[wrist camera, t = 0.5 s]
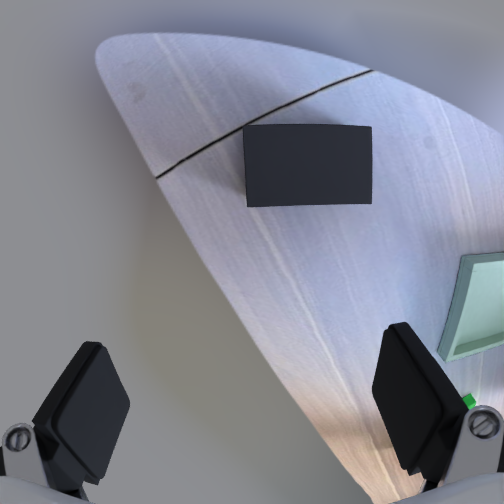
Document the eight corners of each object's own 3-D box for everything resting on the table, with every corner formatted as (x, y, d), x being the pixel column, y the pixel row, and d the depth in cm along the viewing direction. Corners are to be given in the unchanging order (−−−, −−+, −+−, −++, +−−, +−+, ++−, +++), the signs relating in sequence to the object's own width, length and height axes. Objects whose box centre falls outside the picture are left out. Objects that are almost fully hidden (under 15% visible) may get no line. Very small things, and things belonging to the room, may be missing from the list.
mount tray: (461, 255, 23) (473, 263, 22) (539, 248, 23) (550, 254, 21) (436, 352, 27) (445, 363, 25) (516, 328, 27) (525, 336, 25)
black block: (244, 129, 20) (242, 125, 16) (351, 129, 20) (371, 126, 16) (247, 197, 22) (247, 207, 18) (352, 194, 22) (371, 203, 18)
